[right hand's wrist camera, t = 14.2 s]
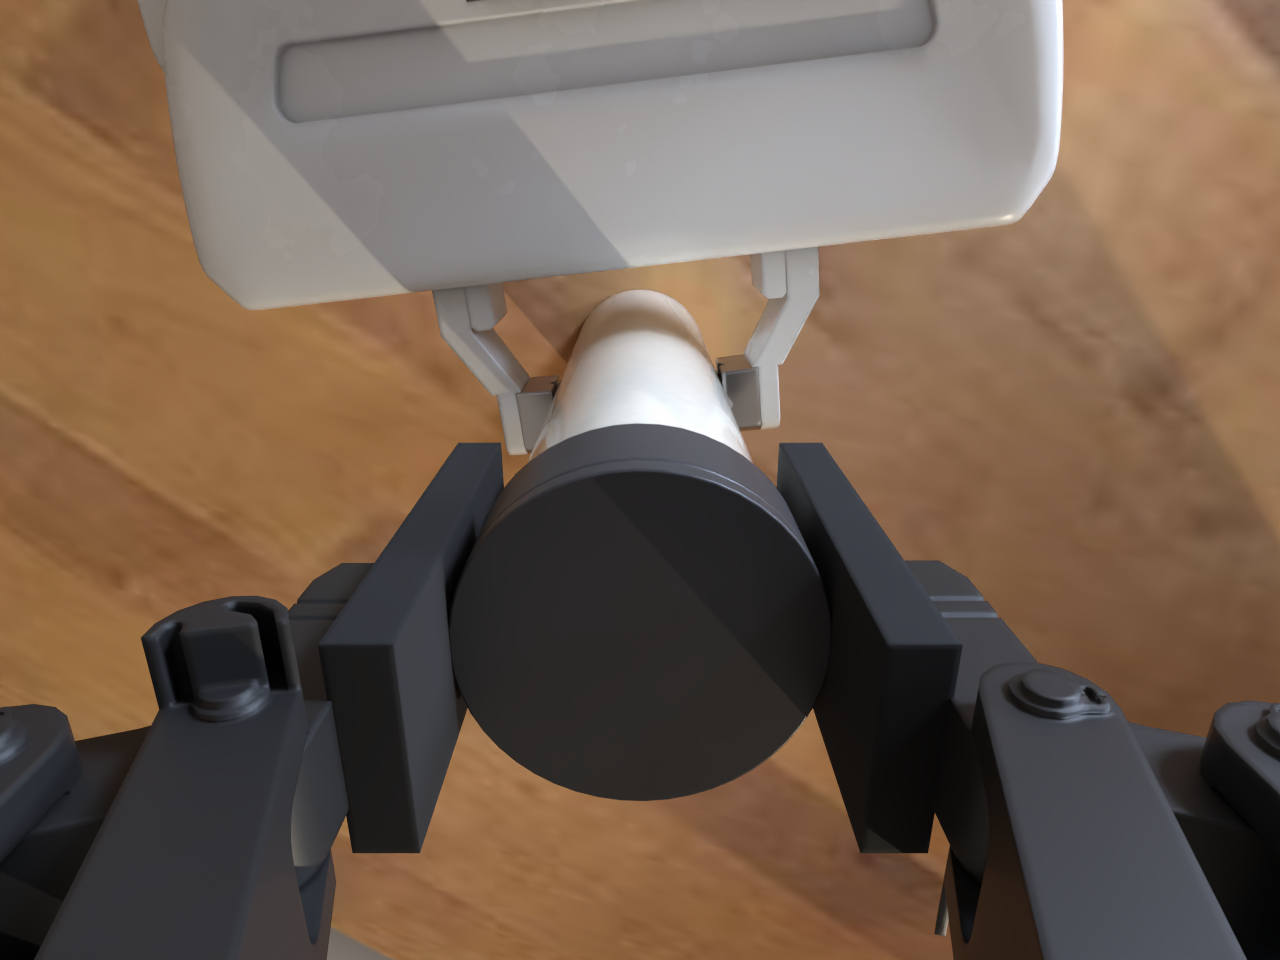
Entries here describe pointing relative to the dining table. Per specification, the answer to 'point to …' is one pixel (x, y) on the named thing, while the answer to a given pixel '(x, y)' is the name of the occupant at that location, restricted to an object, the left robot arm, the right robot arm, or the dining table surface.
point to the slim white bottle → (640, 374)
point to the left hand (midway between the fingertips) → (645, 436)
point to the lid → (640, 616)
